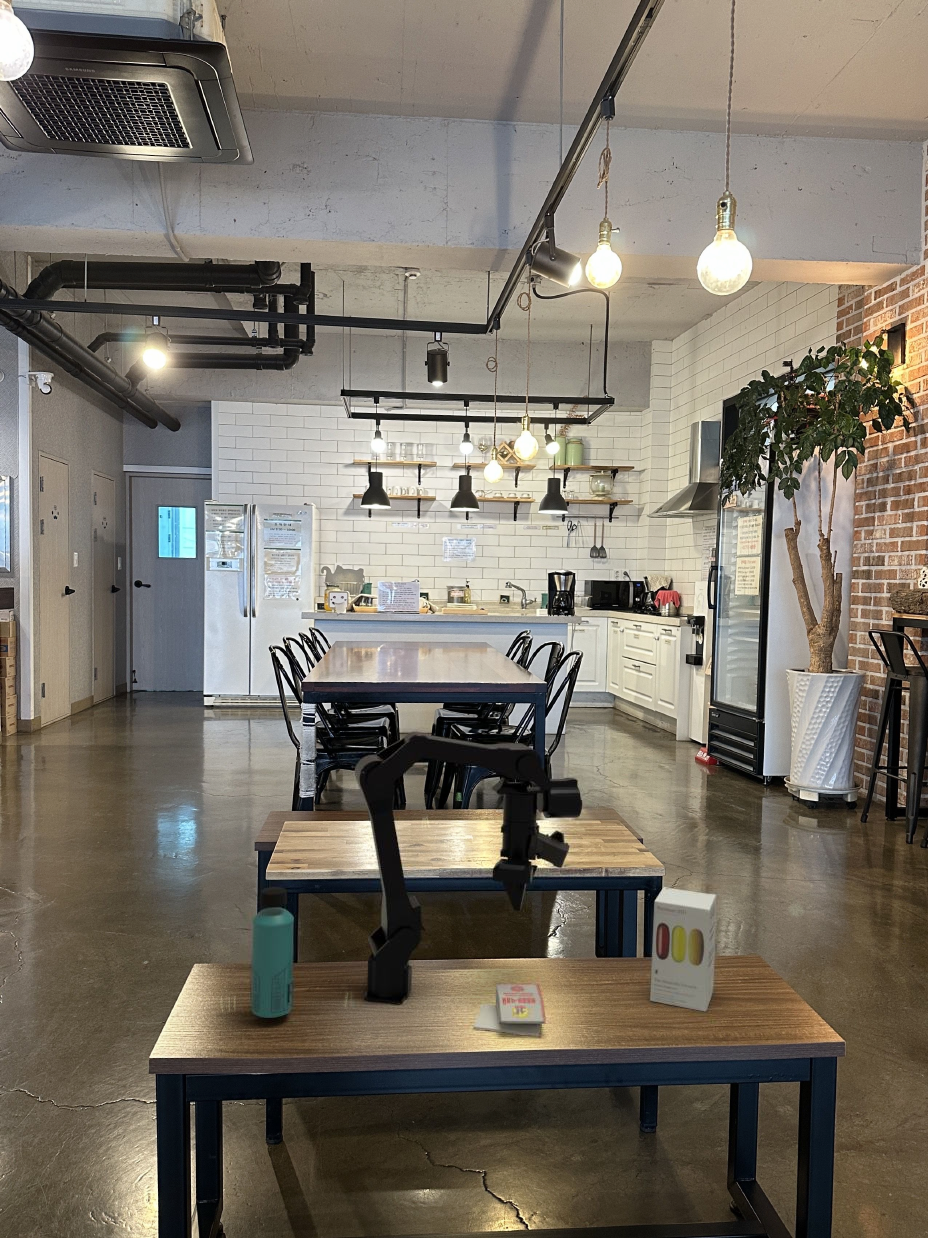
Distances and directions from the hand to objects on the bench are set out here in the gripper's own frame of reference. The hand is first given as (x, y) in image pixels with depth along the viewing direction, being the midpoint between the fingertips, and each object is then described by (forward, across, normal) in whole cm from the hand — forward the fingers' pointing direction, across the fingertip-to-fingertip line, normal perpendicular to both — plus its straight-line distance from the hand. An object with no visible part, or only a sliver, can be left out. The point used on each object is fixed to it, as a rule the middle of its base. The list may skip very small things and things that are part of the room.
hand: (517, 910), depth 156 cm
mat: (+13, -14, -1) cm, 19 cm away
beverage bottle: (+13, -22, +35) cm, 43 cm away
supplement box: (+13, +3, -28) cm, 31 cm away
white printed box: (+11, -9, -1) cm, 14 cm away
